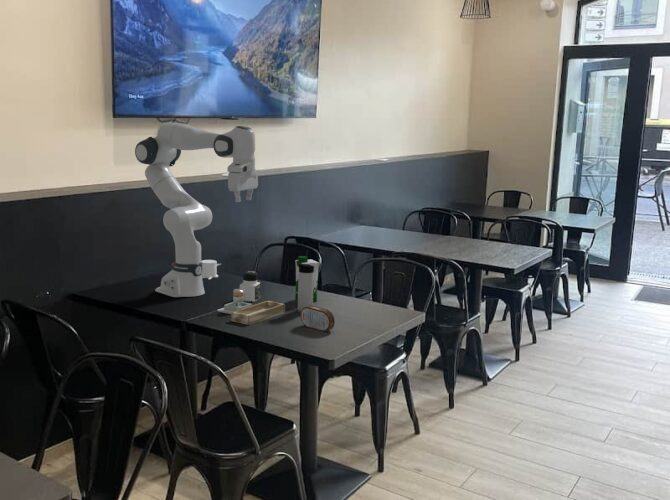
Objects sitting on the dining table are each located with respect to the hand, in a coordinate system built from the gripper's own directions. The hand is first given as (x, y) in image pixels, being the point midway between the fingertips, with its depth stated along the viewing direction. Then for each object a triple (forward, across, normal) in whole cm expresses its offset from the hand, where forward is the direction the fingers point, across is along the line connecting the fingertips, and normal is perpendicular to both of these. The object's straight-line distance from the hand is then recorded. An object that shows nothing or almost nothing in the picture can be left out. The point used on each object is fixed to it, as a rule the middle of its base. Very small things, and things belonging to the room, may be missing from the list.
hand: (243, 200), depth 284 cm
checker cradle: (+44, +9, +3) cm, 45 cm away
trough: (+44, +13, +14) cm, 48 cm away
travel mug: (+44, -2, +27) cm, 52 cm away
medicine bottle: (+44, -10, -1) cm, 45 cm away
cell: (+43, +9, +3) cm, 44 cm away
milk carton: (+44, -17, +22) cm, 52 cm away
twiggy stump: (+44, -41, -40) cm, 72 cm away
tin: (+44, +19, +40) cm, 63 cm away
